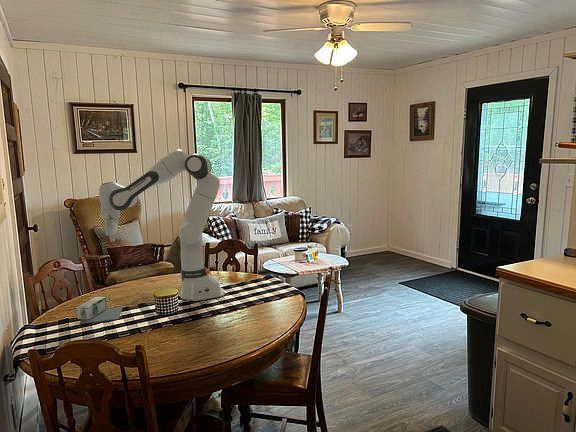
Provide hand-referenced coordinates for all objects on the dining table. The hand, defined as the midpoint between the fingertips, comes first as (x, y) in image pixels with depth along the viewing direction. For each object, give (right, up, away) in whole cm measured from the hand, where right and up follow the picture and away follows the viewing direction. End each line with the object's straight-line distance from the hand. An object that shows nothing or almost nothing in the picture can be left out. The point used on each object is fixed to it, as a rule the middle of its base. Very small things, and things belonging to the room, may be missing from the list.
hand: (112, 241), depth 215 cm
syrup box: (0, -28, -13) cm, 31 cm away
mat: (+4, -32, -22) cm, 39 cm away
